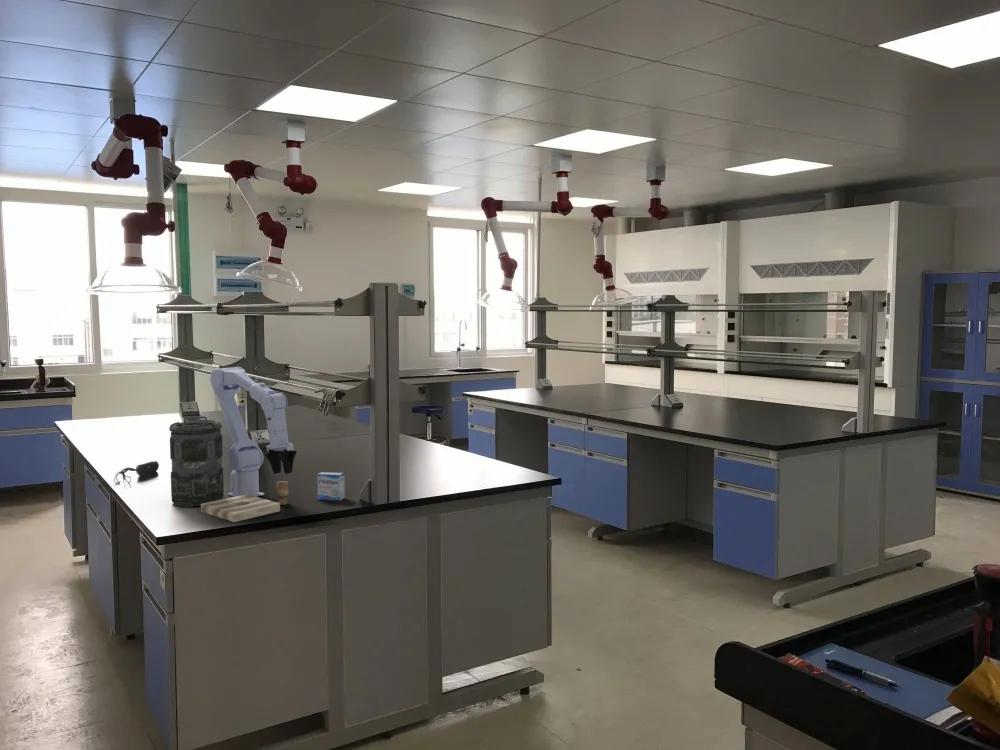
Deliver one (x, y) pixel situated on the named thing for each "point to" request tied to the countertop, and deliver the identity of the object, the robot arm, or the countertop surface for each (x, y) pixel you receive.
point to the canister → (196, 462)
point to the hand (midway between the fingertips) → (282, 473)
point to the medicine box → (331, 486)
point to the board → (240, 507)
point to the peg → (282, 492)
